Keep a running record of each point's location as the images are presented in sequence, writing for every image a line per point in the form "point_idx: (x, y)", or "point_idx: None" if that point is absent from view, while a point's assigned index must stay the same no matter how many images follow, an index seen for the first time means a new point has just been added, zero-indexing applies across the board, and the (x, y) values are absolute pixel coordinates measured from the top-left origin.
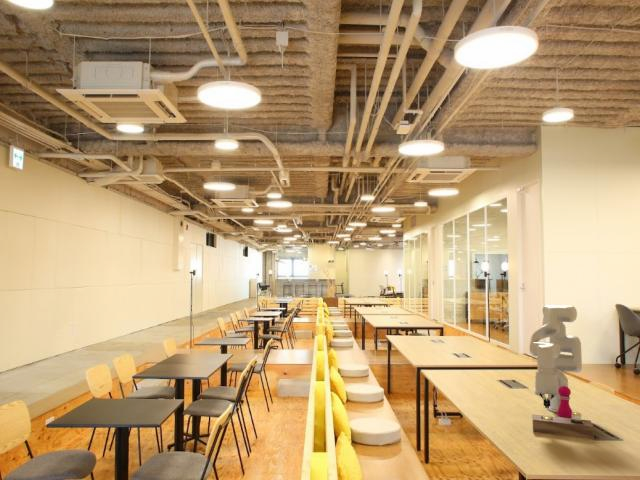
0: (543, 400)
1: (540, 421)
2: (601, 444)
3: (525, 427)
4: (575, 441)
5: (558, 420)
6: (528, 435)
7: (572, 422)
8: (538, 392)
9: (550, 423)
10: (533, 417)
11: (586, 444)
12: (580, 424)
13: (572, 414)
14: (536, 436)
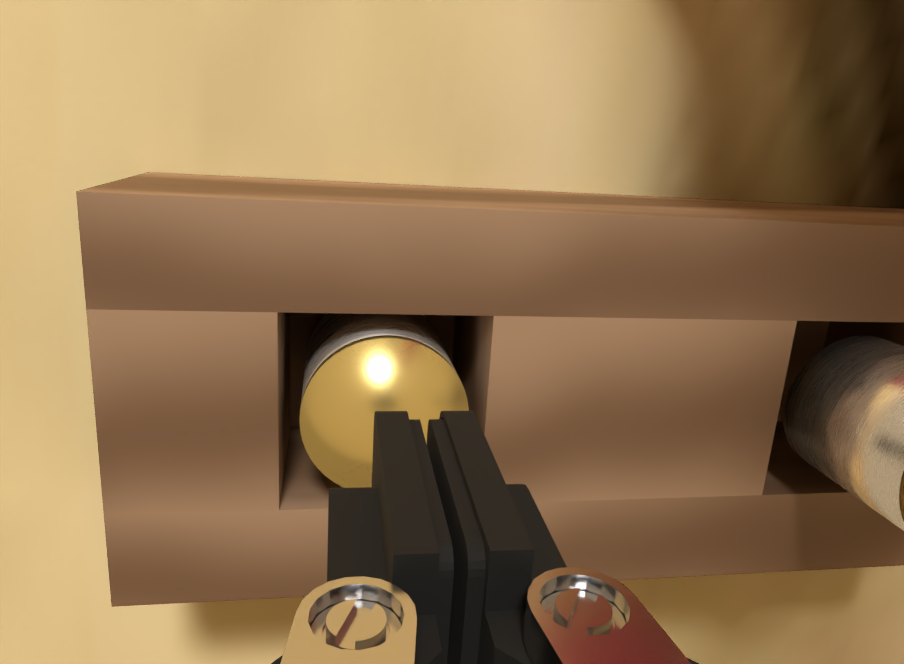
0: (327, 574)
1: (254, 588)
2: (888, 589)
3: (31, 288)
4: (650, 611)
5: (577, 456)
6: (104, 641)
7: (786, 430)
8: None
9: None
10: (114, 450)
11: (738, 654)
12: (869, 535)
13: (894, 506)
14: (211, 634)
